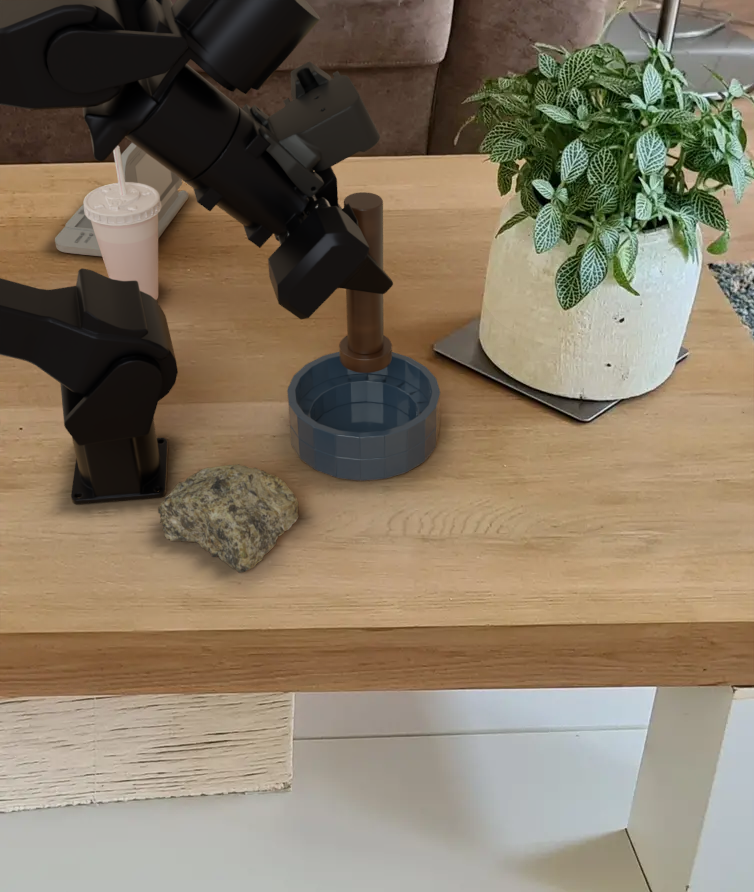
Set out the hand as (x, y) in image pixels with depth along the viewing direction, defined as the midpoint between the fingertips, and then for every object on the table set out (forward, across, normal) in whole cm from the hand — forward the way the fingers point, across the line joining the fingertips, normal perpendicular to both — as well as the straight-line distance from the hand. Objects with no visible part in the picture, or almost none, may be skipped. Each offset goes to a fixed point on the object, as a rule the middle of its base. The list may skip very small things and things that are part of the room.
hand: (383, 278), depth 81 cm
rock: (+1, -9, +19) cm, 21 cm away
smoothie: (-2, +25, +22) cm, 33 cm away
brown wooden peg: (+4, 0, +6) cm, 7 cm away
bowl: (+8, 0, +11) cm, 14 cm away
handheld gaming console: (-2, +39, +22) cm, 45 cm away
